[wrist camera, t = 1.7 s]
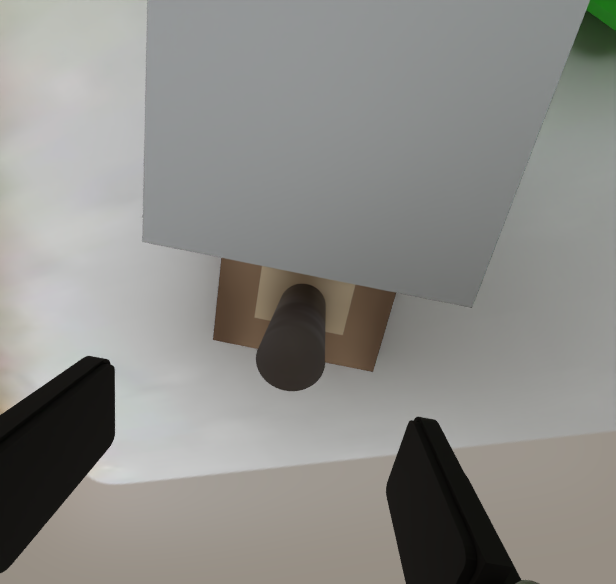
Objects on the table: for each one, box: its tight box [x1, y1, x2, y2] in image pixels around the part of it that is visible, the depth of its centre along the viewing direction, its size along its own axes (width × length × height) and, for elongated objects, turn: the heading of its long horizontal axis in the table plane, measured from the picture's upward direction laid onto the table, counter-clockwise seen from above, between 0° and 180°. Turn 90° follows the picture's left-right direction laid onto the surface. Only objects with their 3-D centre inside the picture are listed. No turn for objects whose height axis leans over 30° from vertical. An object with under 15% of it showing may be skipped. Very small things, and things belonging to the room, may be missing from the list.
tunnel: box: [142, 0, 590, 308], centre depth 14 cm, size 13×11×8 cm
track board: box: [213, 258, 396, 372], centre depth 19 cm, size 12×27×1 cm, turn 169°
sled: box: [254, 266, 355, 391], centre depth 14 cm, size 6×22×8 cm, turn 169°
